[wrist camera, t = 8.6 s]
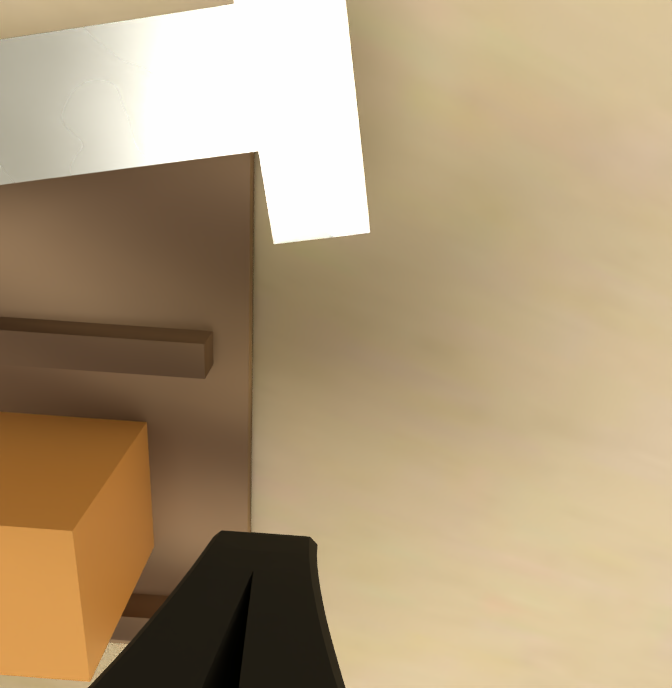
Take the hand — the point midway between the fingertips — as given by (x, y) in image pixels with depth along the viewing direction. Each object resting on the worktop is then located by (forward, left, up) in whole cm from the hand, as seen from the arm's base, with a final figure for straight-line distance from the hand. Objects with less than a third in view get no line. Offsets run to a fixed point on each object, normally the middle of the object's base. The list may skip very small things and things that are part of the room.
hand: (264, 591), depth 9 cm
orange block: (-5, +9, -9) cm, 14 cm away
